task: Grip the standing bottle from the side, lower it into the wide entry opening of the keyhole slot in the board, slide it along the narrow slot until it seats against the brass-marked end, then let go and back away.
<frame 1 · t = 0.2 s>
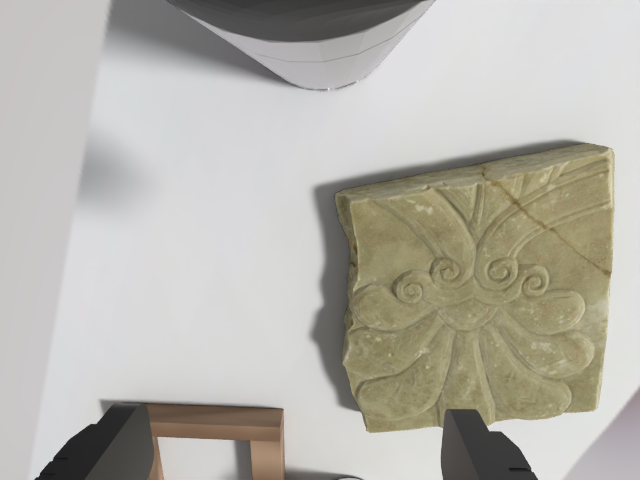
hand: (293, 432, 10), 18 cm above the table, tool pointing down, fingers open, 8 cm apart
decorative tile: (456, 294, 29), on the table
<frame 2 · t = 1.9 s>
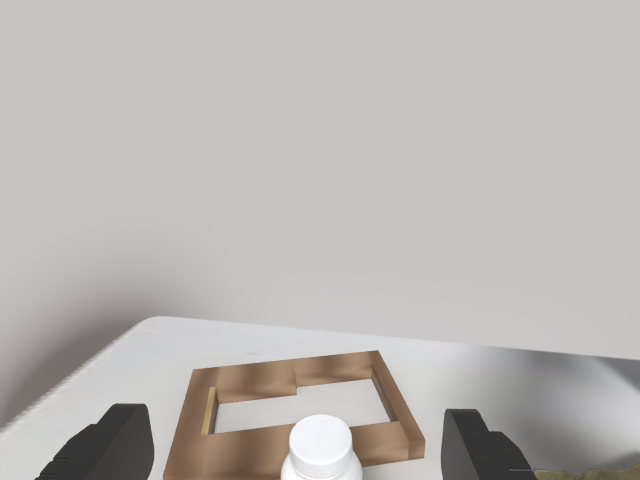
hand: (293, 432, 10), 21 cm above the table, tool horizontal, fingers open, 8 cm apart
keyhole board: (294, 416, 38), on the table
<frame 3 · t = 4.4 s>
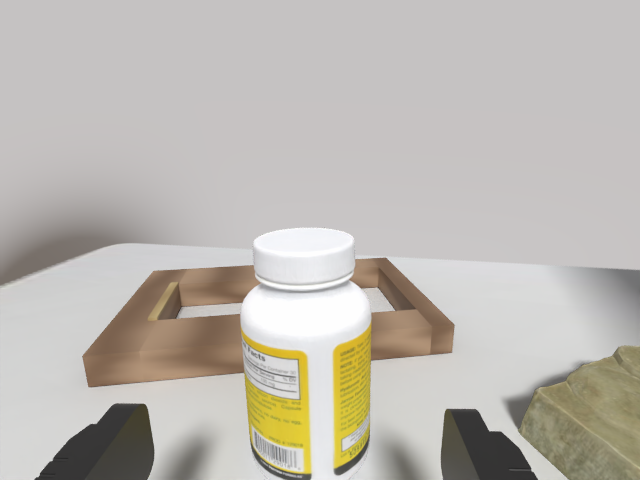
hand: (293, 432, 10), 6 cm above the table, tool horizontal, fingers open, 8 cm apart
keyhole board: (278, 316, 29), on the table
supplement bottle: (310, 447, 17), on the table
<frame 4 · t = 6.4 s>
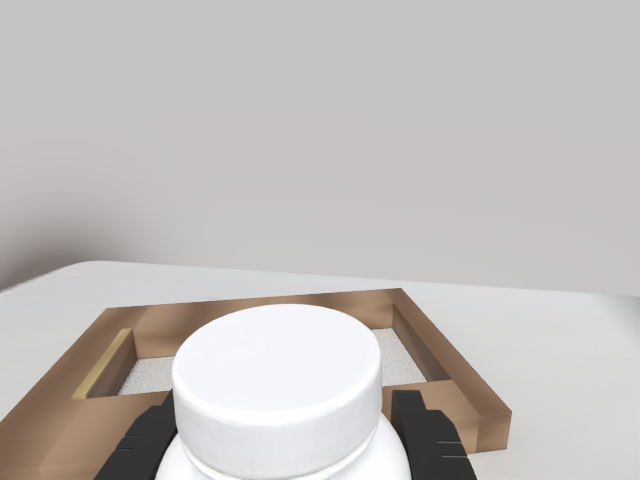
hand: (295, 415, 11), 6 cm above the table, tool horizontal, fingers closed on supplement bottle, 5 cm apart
keyhole board: (261, 377, 22), on the table
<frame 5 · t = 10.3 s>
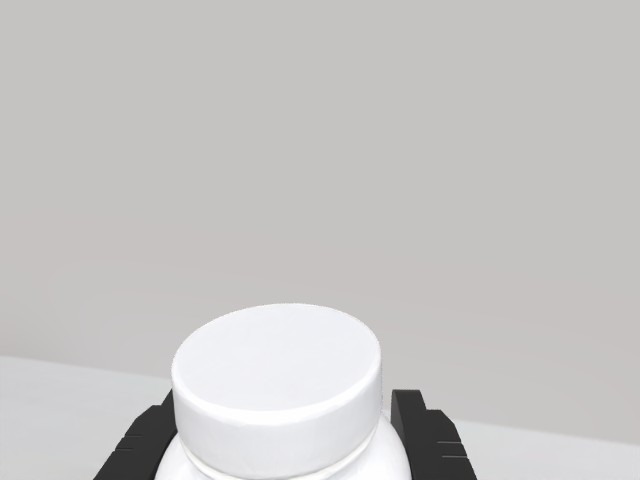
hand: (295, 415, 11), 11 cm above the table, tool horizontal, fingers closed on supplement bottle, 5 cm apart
when the fingers open (7 cm above the table, at t = 14.3 s): supplement bottle stays where it is, resting in keyhole board.
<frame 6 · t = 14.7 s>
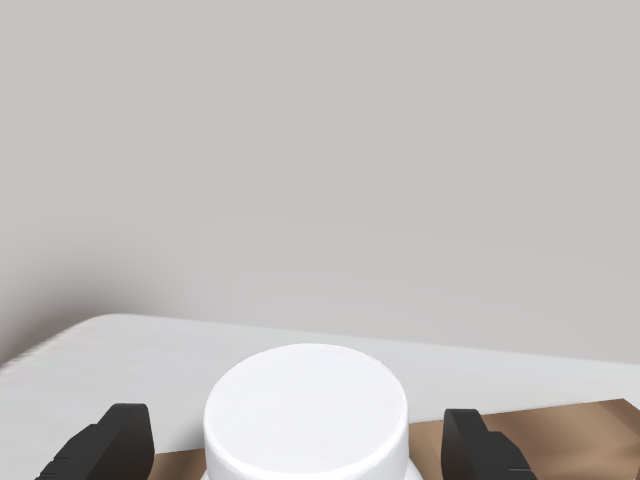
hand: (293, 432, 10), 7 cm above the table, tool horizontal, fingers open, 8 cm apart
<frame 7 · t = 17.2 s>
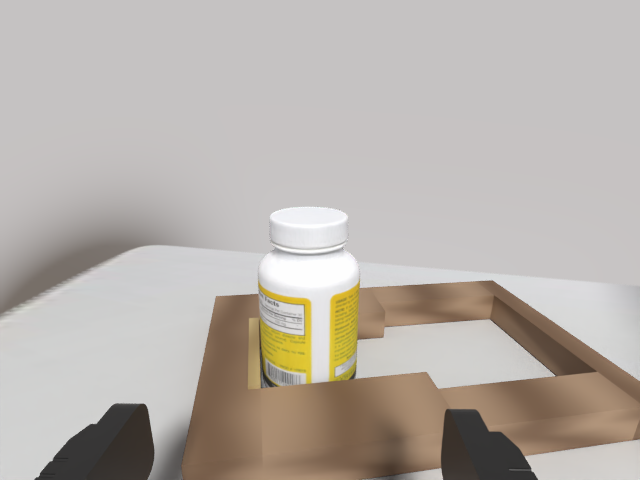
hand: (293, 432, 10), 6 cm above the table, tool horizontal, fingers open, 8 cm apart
keyhole board: (392, 366, 23), on the table
supplement bottle: (309, 380, 22), resting in keyhole board
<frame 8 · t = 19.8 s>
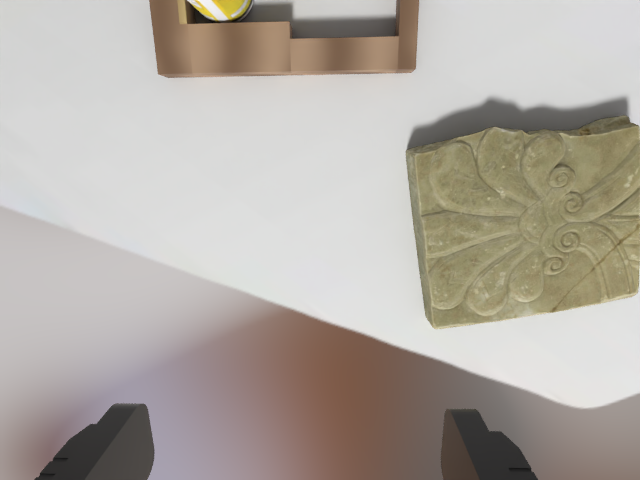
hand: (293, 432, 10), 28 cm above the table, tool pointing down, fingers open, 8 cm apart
decorative tile: (513, 218, 37), on the table
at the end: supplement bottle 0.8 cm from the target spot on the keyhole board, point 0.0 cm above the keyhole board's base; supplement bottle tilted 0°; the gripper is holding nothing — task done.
